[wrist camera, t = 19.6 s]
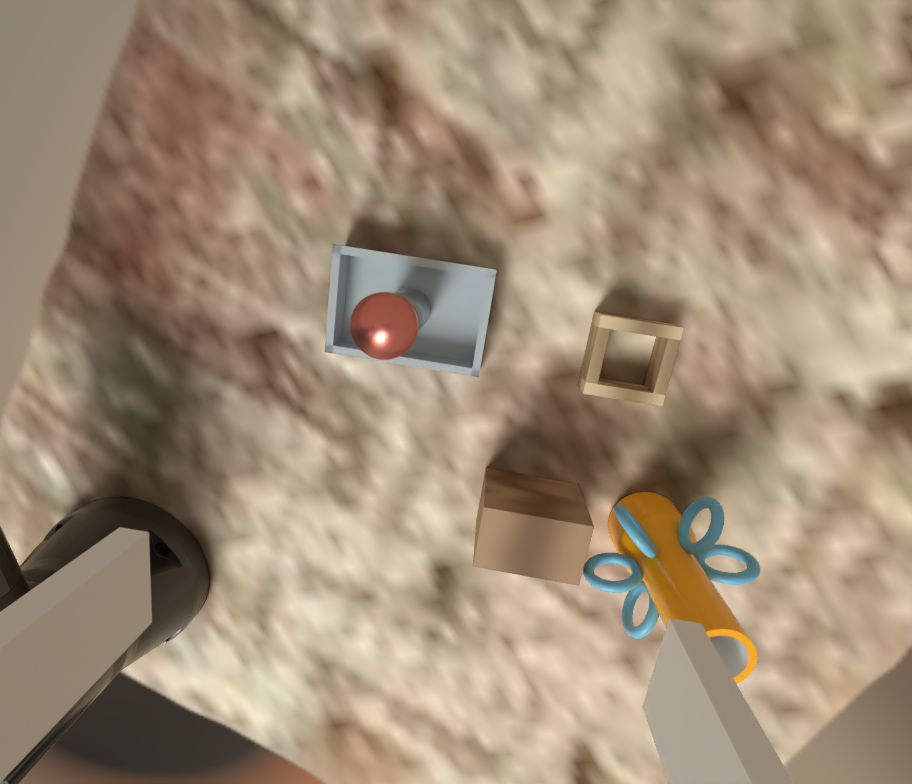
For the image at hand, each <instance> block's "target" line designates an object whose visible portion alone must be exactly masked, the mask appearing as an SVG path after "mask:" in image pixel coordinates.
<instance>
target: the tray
mask: <svg viewBox="0 0 912 784" xmlns="http://www.w3.org/2000/svg"><path fill="white" fill-rule="evenodd" d="M496 271H497V269H491V268H485V267H478V266H472V265H466V264H459V263H453V262H446V261H440V260H434V259H427V258H421V257H414V256H408V255H401V254H395V253H389V252H382V251H376V250H369V249H363V248H357V247H350V246H343V245H334V244H333V250H332V263H331V276H330V289H329V302H328V315H327V328H326V341H325V352H328V353H334V354H340V355H346V356H352V357H359V358H365V359H371V360H377V361H383V362H389V363H395V364H401V365H407V366H413V367H419V368H425V369H431V370H437V371H444V372H450V373H456V374H462V375H468V376H474V377H479V373H480V367H481V361H482V355H483V349H484V343H485V337H486V331H487V325H488V319H489V313H490V307H491V301H492V295H493V289H494V283H495V277H496ZM406 288H414V289H417V290H420V291H421V292H423V293H424V294H425V295H426V296H427V298H428V300H429V302H430V305H431V313H430V317H429V319H428V321H427V322H426V323H425V324H424V325H423V326H422V327H421V329H420V330H419V331H418V335H417V338H416V340H415V342H414V343H413V345H412V346H411V347H410V348H409V349H408V350H407V351H406V352H405V353H404V354H403V355H401V356H399V357H397V358H394V359H390V360H380V359H375V358H372V357H370V356H368V355H367V354H365V353H364V352H362V351H361V350H360V349H359V348H358V346H357V345H356V344H355V342H354V340H353V338H352V335H351V331H350V319H351V315H352V312H353V310H354V308H355V306H356V305H357V304H358V303H359V302H360V301H361V300H362V299H363V298H365V297H366V296H368V295H371V294H374V293H378V292H393V293H394V292H397V291H400V290H403V289H406Z"/></svg>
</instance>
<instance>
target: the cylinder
mask: <svg viewBox="0 0 912 784" xmlns="http://www.w3.org/2000/svg"><path fill="white" fill-rule="evenodd" d="M704 508H709V509H710V511H711V523H710V526H709V529H708V531H707V533H706V534H705V536H704V537H703V538H702V539H701V540H700V541H698V542H697V541H696V537H695V534H694V532H693V531H692V529H691V527H690V526H691V523H692V521H693V519H694V517H695V516H696V515H697V513H698V512H699V511H701V510H702V509H704ZM723 525H724V512H723V509H722V507H721V505H720V503H719V502H718V501H717V500H715V499H713V498H711V497H701V498H699V499H696V500H695V501H693V502H692V503H691V504H690V505H689V506H688V507H687V508H686V510H685V511H684V513H683V515H681V514H680V512H679V511H678V510H677V508H676V507H675V506H674V504H673V503H672V502H671V501H670V500H669V499H667V498H666V497H664V496H662V495H659V494H657V493H652V492H638V493H633V494H631V495H628V496H626V497H624V498H623V499H621V500H620V501H619V502H618V503H617V504H616V505H615V506H614V508H613V509H612V511H611V513H610V516H609V520H608V529H609V533H610V536H611V539H612V541H613V544H614V546H615V548H616V551H617V553H602V554H598V555H595V556H593V557H591V558H590V559H589V560H587V562H586V563H585V565H584V568H583V574H584V577H585V579H586V580H587V581H588V583H590V584H591V585H592V586H593V587H595V588H597V589H599V590H602V591H606V592H612V593H621V592H627V591H629V592H628V594H627V596H626V598H625V601H624V604H623V609H622V622H623V626H624V629H625V631H626V632H627V634H628V635H630V636H631V637H633V638H643V637H645V636H646V635H648V634H649V633H650V632H651V631H652V629H653V628H654V626H655V624H656V622H657V620H658V617H659V615H660V617H661V619H662V621H663V623H664V625H665V628H667V624H668V621H669V618H671V619H677V620H683V621H689V622H695V623H701V624H702V626H703V628H704V630H705V631H706V633H707V635H708V636H709V638H710V640H711V642H712V643H713V645H714V647H715V648H716V650H717V652H718V654H719V655H720V657H721V659H722V660H723V662H724V664H725V666H726V667H727V669H728V671H729V673H730V674H731V676H732V678H733V679H734V681H735V683H736V684H737V683H739V682H741V681H742V680H744V679H745V678H746V677H747V676H748V675H749V674H750V673H751V672H752V671H753V669H754V667H755V665H756V662H757V652H756V648H755V646H754V644H753V643H752V641H751V640H750V638H749V637H748V635H747V634H746V632H745V631H744V629H743V628H742V626H741V625H740V623H739V622H738V620H737V619H736V617H735V616H734V614H733V613H732V611H731V610H730V608H729V607H728V606H727V604H726V603H725V601H724V600H723V598H722V597H721V595H720V594H719V592H718V591H717V589H716V588H715V586H714V585H713V583H712V582H711V580H713V581H715V582H719V583H723V584H729V585H741V584H746V583H749V582H752V581H754V580H755V579H756V578H757V577H758V576H759V573H760V566H759V563H758V562H757V560H756V559H755V558H754V557H753V556H752V555H751V554H749V553H748V552H746V551H744V550H742V549H739V548H736V547H733V546H728V545H714V544H715V543H716V542H717V540H718V539H719V537H720V535H721V532H722V529H723ZM715 555H723V556H730V557H733V558H736V559H739V560H741V561H742V562H744V563H745V564H746V565H747V569H746V570H745V571H742V572H738V573H727V572H721V571H718V570H715V569H713V568H711V567H709V566H708V565H707V564H706V563H705V559H706V558H708V557H710V556H715ZM606 563H615V564H620V565H623V566H624V567H625V568H626V569H627V570H628V571H629V572H630V573H631V574H632V575H631V576H630V577H629V578H627V579H625V580H621V581H608V580H604V579H601V578H599V577H598V576H596V575H595V573H594V569H595V568H596V567H597V566H599V565H602V564H606ZM642 580H643V581H642ZM645 591H647V592H648V594H649V608H648V612H647V615H646V617H645V619H644V621H643V622H642V623H641V624H640V625H639V626H637V627H635V626H634V624H633V619H632V615H633V608H634V605H635V602H636V600H637V599H638V597H639V596H640V595H641V594H642V593H643V592H645Z"/></svg>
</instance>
